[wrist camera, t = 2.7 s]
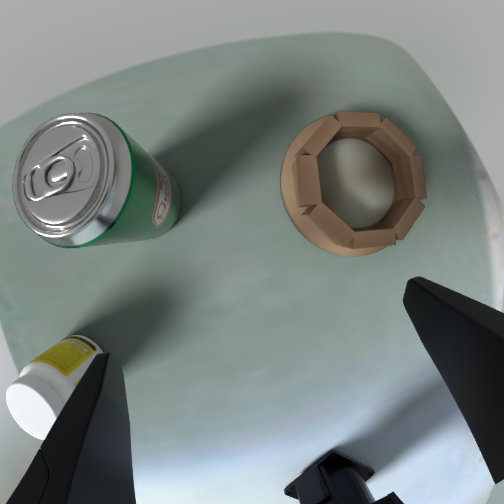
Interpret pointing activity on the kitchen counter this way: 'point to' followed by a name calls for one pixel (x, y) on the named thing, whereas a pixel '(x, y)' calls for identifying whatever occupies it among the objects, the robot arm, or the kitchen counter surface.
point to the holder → (352, 183)
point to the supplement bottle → (49, 384)
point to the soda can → (91, 184)
